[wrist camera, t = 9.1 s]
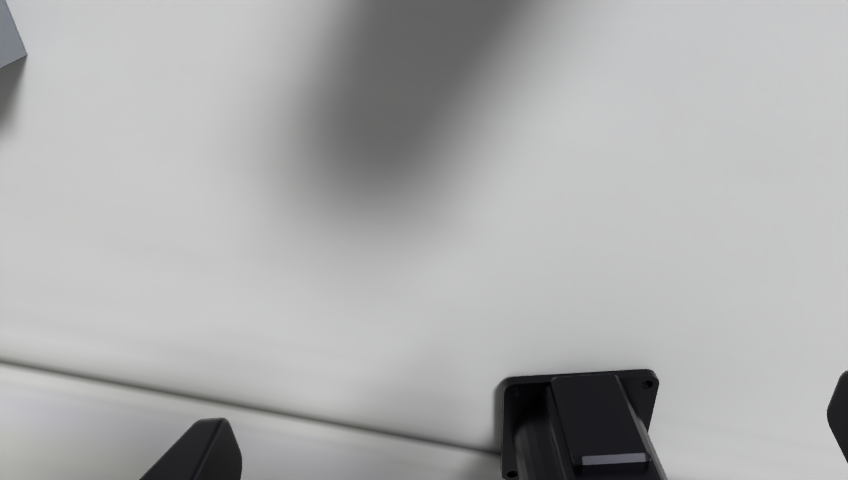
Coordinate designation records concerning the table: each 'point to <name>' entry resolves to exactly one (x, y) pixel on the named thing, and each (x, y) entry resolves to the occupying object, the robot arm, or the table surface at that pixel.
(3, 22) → the base slab
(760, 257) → the table surface
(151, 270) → the table surface
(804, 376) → the table surface
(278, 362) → the table surface
